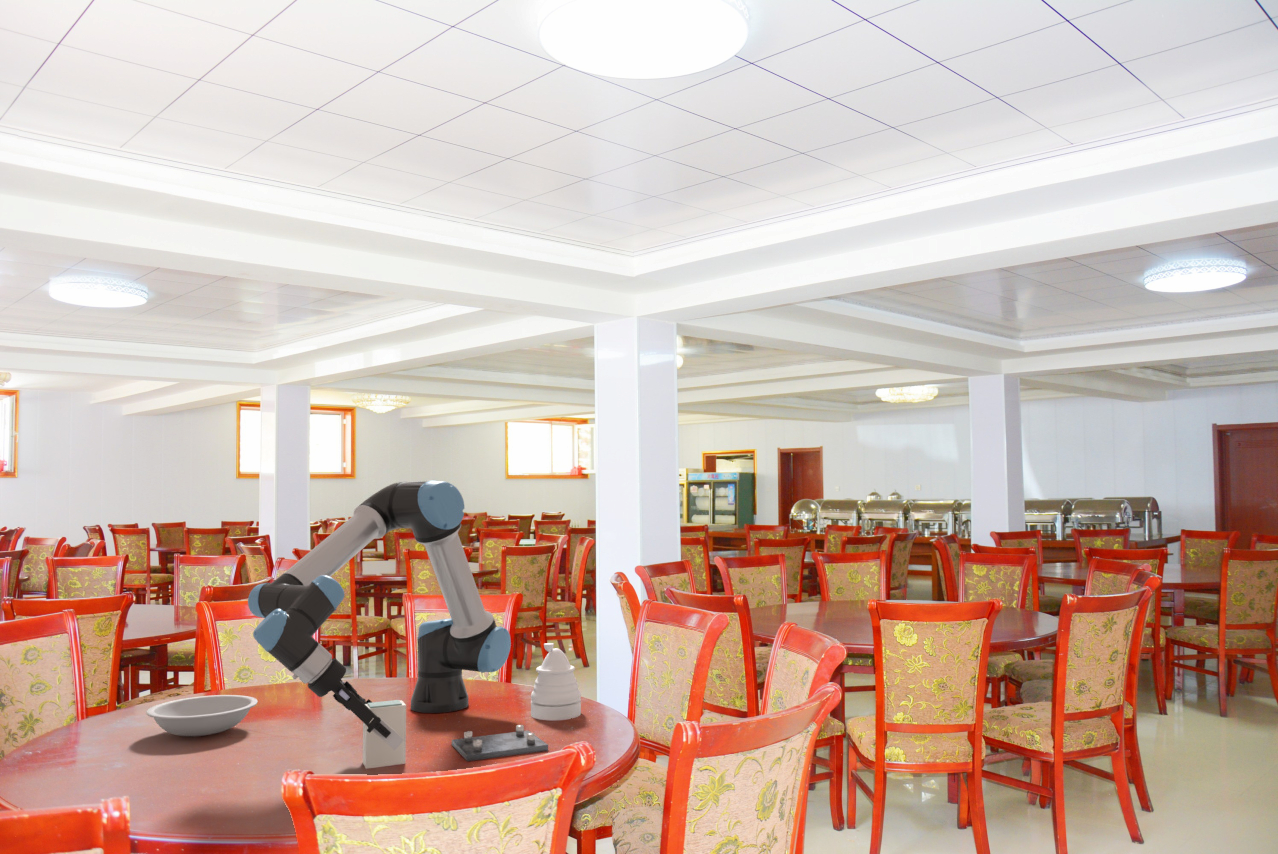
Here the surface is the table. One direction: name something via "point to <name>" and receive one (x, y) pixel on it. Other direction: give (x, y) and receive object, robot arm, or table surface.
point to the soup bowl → (201, 714)
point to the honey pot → (555, 688)
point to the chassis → (498, 744)
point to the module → (374, 746)
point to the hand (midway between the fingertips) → (393, 737)
